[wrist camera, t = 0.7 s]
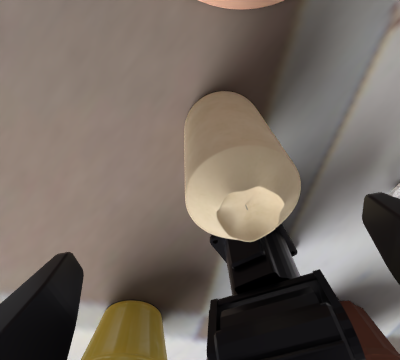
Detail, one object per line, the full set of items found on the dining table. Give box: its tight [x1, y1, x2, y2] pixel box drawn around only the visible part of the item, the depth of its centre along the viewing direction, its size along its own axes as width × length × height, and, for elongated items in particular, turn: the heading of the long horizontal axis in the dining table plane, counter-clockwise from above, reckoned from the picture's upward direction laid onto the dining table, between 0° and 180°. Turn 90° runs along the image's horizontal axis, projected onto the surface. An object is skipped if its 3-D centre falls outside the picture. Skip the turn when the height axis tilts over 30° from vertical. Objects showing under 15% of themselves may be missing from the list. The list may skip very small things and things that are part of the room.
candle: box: [184, 91, 301, 242], centre depth 16 cm, size 6×6×10 cm
